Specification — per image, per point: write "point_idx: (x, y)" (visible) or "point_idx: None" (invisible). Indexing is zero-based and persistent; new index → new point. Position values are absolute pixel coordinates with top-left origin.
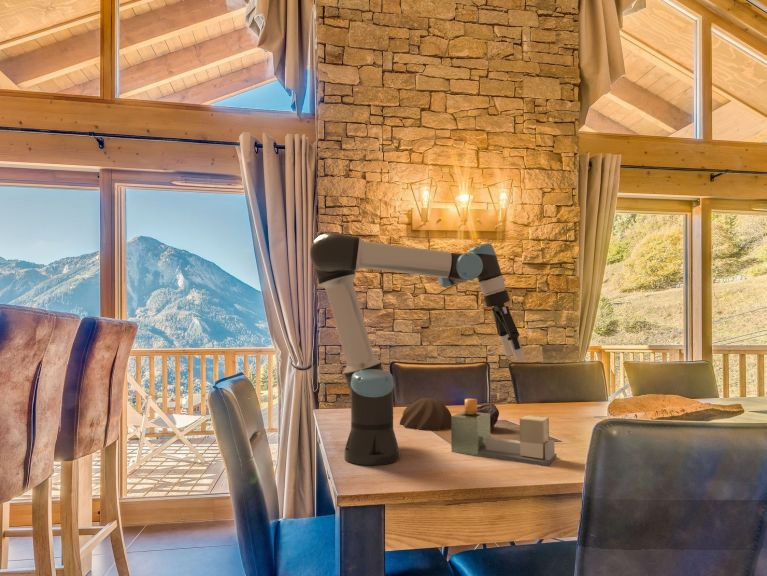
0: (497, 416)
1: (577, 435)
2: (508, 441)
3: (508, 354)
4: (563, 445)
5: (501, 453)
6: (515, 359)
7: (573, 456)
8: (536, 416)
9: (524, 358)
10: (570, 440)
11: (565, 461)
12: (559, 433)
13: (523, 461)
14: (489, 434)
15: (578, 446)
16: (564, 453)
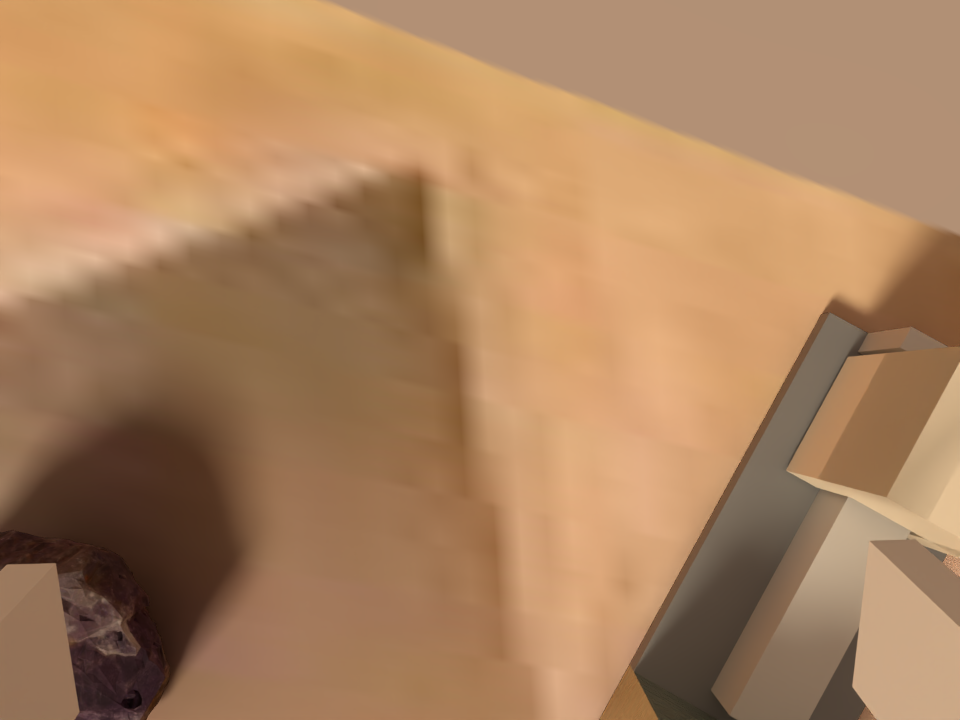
0: (104, 557)
1: (247, 16)
2: (854, 609)
3: (64, 688)
4: (532, 190)
5: (853, 640)
6: (877, 703)
7: (791, 210)
8: (943, 434)
9: (914, 550)
10: (394, 106)
11: (901, 287)
12: (192, 118)
13: None
14: (659, 703)
15: (551, 106)
16: (727, 242)
